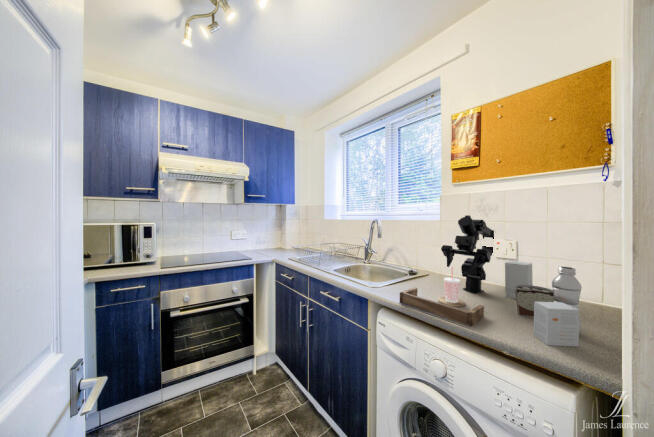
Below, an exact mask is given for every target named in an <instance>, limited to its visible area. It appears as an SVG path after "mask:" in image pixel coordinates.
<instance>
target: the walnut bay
mask: <svg viewBox="0 0 654 437" xmlns="http://www.w3.org/2000/svg"><path fill="white" fill-rule="evenodd" d="M399 303H401V304H405V305H407V306H411V307H413V308H416V309H420V310H421V311H425V312H428V313H431V314H435V315H437V316H440V317H441V318H446V319H448V320H452V321H455V322H457V321H458V323H460V324H463V325H467V326H469V327H472V326H474V325H475V324H476V323H478V322H479V321H481V320H482V319H483V318H484V317H485V316H484V314H485V313H484V312H485V305H482V304H478V305H476V306H475V307H473V308H471V309H470V310H465V309H462V308H460V307H452V306H448V305H445V304H442V303H440V302H439V301H434V300H432V299H431V300H430V299H427V298H424V297H421V296H418V288H417V287H415V286H414V287H411V288H408V289H406V290H403V291H400V292H399Z"/></svg>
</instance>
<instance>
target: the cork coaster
mask: <svg viewBox="0 0 654 437" xmlns="http://www.w3.org/2000/svg"><path fill="white" fill-rule="evenodd" d="M437 302H438V303H442V304H445V305H448V306H452V307H455V308H463V307H465V306H466V302H465V301H464V300H462V299H460V298H458V302H457V303H450V302H447V301H446V300H445V296H440V297H438V298H437Z"/></svg>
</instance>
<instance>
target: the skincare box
mask: <svg viewBox="0 0 654 437" xmlns="http://www.w3.org/2000/svg"><path fill="white" fill-rule="evenodd" d="M533 281H534V280H533V263H531V262H525V261H523V262H522V261H516V260H508V261H506V262H504V282H505V283H504V284H505V285H504V286H505V290H504V291H505V292H504V293H505V296H504V297H505V298H509V299H514V300H516V292H515V293H514V292H513V291H514V288H515V286H516V285H533V286H534V283H533Z"/></svg>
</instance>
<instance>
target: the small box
mask: <svg viewBox="0 0 654 437" xmlns="http://www.w3.org/2000/svg"><path fill="white" fill-rule="evenodd" d="M578 309H579V308H578ZM578 309H576V308H574V307H572V306H569V305H567V304H565V303H562V302H534V317H533V336H534V337H536V338H537V340H540V341H541V342H543V343H544V344H545V345H548V346H554V347H555V346H557V347H560V346H561V347H575V348H576V347H579V345H580V332H579V319H580V309H579V310H578Z"/></svg>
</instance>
